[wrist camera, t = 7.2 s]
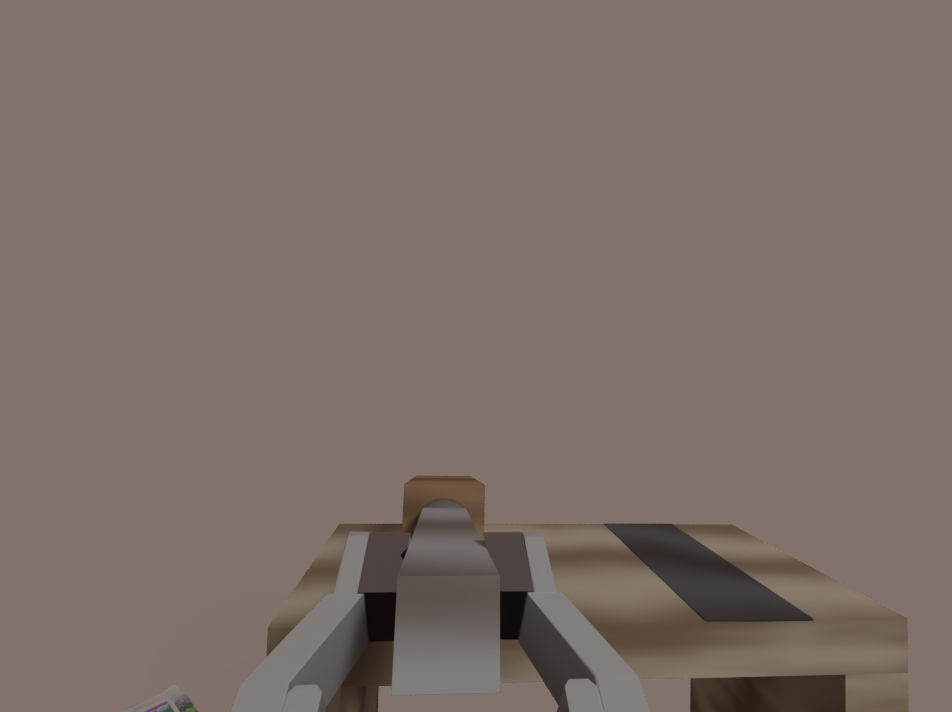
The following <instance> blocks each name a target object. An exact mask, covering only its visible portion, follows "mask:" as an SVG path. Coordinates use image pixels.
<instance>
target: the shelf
mask: <svg viewBox="0 0 952 712" xmlns="http://www.w3.org/2000/svg"><path fill="white" fill-rule="evenodd" d="M350 531H360V532H401V533H402V524H339V526H338V527H337V528H336V530H335V531H334V533H333V534H332V536H331V537H330V539H329V540H328V541H327V543H326V544H325V546H324V547H323V549H322V550H321V552H320V553H319V555H318V556H317V557H316V559H315V560H314V562H313V563H312V565H311V566H310V568H309V569H308V570H307V572H306V573H305V575H304V576H303V578H302V579H301V581H300V582H299V584H298V585H297V586H296V588H295V589H294V591H293V592H292V594H291V595H290V596H289V598H288V599H287V601H286V602H285V604H284V605H283V607H282V608H281V610H280V611H279V613H278V614H277V615H276V617H275V618H274V620H273V621H272V622H271V624H270V625H269V627H268V636H267V656H268V655H269V654H270V653H271V652H272V651H273V650H274V649H275V647H276V646H277V645H278V644H279V643H280V642H281V641H282V640H283V639H284V638H285V637H286V636H287V635H288V634H289V633H290V632H291V631H292V629H293V628H294V627H295V626H296V625H297V624H298V623H299V622H300V621H301V620H302V619H303V618H304V617H305V616H306V615H307V614H308V613H309V612H310V610H311V609H312V608H313V607H314V606H315V605H316V604H317V603H318V602H319V601H320V600H321V599H322V598H323V597H324V596H325V595H326V594H333V590H334V586H335V582H336V578H337V574H338V570H339V566H340V563H341V559H342V555H343V551H344V547H345V543H346V539H347V536H348V535H349V533H350ZM484 532H542V534H543V535H544V539H545V543H546V547H547V552H548V556H549V561H550V565H551V569H552V574H553V578H554V582H555V587H556V591H557V592H563V593H564V594H565V595H566V597H567V598H568V599H569V600H570V601H571V602H572V603H573V604H574V605H575V607H576V608H577V609H578V610H579V611H580V612H581V613H582V614H583V615H584V617H585V618H586V619H587V620H588V621H589V622H590V623H591V624H592V625H593V627H594V628H595V629H596V630H597V631H598V632H599V633H600V634H601V635H602V637H603V638H604V639H605V640H606V641H607V642H608V643H609V644H610V645H611V647H612V648H613V649H614V650H615V651H616V652H617V653H618V654H619V655H620V657H621V658H622V659H623V660H624V661H625V662H626V663H627V664H628V665H629V667H630V668H631V669H632V670H633V671H634V672H635V673H636V674H637V675H638V677H639V680H640V679H683V678H691V705H690V709H691V710H690V711H691V712H908V638H907V637H908V635H907V634H908V632H907V618H906V617H904V616H902V615H900V614H898V613H896V612H894V611H892V610H891V609H889V608H887V607H885V606H883V605H881V604H879V603H877V602H875V601H874V600H872V599H870V598H868V597H866V596H864V595H862V594H861V593H859V592H857V591H855V590H853V589H851V588H849V587H847V586H846V585H844V584H842V583H840V582H838V581H836V580H834V579H832V578H830V577H829V576H827V575H825V574H823V573H821V572H819V571H817V570H816V569H814V568H812V567H810V566H808V565H806V564H804V563H802V562H801V561H798V560H797V559H795V558H793V557H791V556H789V555H787V554H786V553H784V552H781V551H780V550H778V549H776V548H774V547H772V546H771V545H769V544H767V543H765V542H763V541H761V540H759V539H757V538H756V537H754V536H752V535H750V534H748V533H746V532H744V531H742V530H740V529H739V528H737V527H735V526H733V525H673V524H594V525H593V524H484ZM518 641H519V640H500V683H518V682H544V681H543V680H542V678H541V677H540V675H539V674H538V672H537V670H536V669H535V667H534V666H533V664H532V663H531V661H530V659H529V658H528V656H527V655H526V653H525V651H524V650H523V648H522V647H521V645H520V644H519V642H518ZM393 654H394V641H382V642H368V646H367V647H366V649H365V650H364V652H363V653H362V655H361V656H360V658H359V659H358V661H357V662H356V664H355V665H354V667H353V668H352V670H351V671H350V673H349V674H348V676H347V677H346V679H345V680H344V681H343V683H342V684H341V686H340V687H339V689H338V690H337V692H336V693H335V695H334V696H333V698H332V699H331V701H330V702H329V704H328V705H327V707H326V708H325V709H326V712H378V687H379V686H392V673H393Z"/></svg>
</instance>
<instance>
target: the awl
mask: <svg viewBox="0 0 952 712" xmlns="http://www.w3.org/2000/svg"><path fill="white" fill-rule="evenodd" d="M484 495H485V485H484V484H482V483H481V482H479V481H477V480H476V479H474V478H472V477H470V476H416V477H414V478H413V479H411V480H410V481H408V482H407V483H405V484H404V503H403V523H402V533H411V542H410V545H409V547H408V549H407V552H406V555H405V557H404V560H403V563H402V565H401V568H400V571H399V573H398V576H397V595H396V615H395V634H394V654H393V673H392V693H391V694H392V696H396V695H437V694H473V693H474V694H475V693H500V575H499V573H498V571H497V569H496V567H495V565H494V563H493V561H492V559H491V557H490V555H489V553H488V551H487V549H486V547H485V545H484V543H483V541H482V538H483V533H484V499H485V497H484Z"/></svg>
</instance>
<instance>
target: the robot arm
mask: <svg viewBox="0 0 952 712" xmlns="http://www.w3.org/2000/svg"><path fill="white" fill-rule="evenodd" d="M482 541H483V543H484V545H485V547H486V549H487V551H488V553H489V555H490V557H491V559H492V561H493V563H494V565H495V567H496V569H497V571H498V573H499V575H500V640H519V641H518V642H519V644H520V645H521V647H522V648H523V650H524V651H525V653H526V655H527V656H528V658H529V659H530V661H531V663H532V664H533V666H534V667H535V669H536V670H537V672H538V674H539V675H540V677H541V678H542V680H543V681H544V683H545V685H546V686H547V688H548V689H549V691H550V692H551V694H552V696H553V697H554V699H555V700H556V702H557V703H558V705H559V707H558V711H557V712H650V710H649V707H648V704H647V701H646V698H645V695H644V692H643V689H642V686H641V683H640V680H639V677H638V675H637V674H636V673H635V672H634V671H633V670H632V669H631V668H630V667H629V665H628V664H627V663H626V662H625V661H624V660H623V659H622V658H621V657H620V655H619V654H618V653H617V652H616V651H615V650H614V649H613V648H612V647H611V645H610V644H609V643H608V642H607V641H606V640H605V639H604V638H603V637H602V635H601V634H600V633H599V632H598V631H597V630H596V629H595V628H594V627H593V625H592V624H591V623H590V622H589V621H588V620H587V619H586V618H585V617H584V615H583V614H582V613H581V612H580V611H579V610H578V609H577V608H576V607H575V605H574V604H573V603H572V602H571V601H570V600H569V599H568V598H567V597H566V595H565V594H564V593H563V592H557V591H556V587H555V582H554V578H553V574H552V569H551V565H550V561H549V556H548V552H547V547H546V543H545V539H544V535H543V534H542V532H484V533H483V538H482ZM410 542H411V533H401V532H360V531H350V533H349V535H348V536H347V539H346V543H345V547H344V551H343V555H342V559H341V563H340V566H339V570H338V574H337V578H336V582H335V586H334V590H333V594H326V595H325V596H324V597H323V598H322V599H321V600H320V601H319V602H318V603H317V604H316V605H315V606H314V607H313V608H312V609H311V610H310V612H309V613H308V614H307V615H306V616H305V617H304V618H303V619H302V620H301V621H300V622H299V623H298V624H297V625H296V626H295V627H294V628H293V629H292V631H291V632H290V633H289V634H288V635H287V636H286V637H285V638H284V639H283V640H282V641H281V642H280V643H279V644H278V645H277V646H276V647H275V649H274V650H273V651H272V652H271V653H270V654H269V655H268V656H267V657H266V658H265V659H264V660H263V661H262V662H261V663H260V664H259V666H257V668H256V669H255V670H254V671H253V672H252V673H251V674H250V675H249V676H248V677H247V678H246V679H245V680H244V681H243V682H242V683H241V685H240V688H239V690H238V693H237V696H236V698H235V701H234V703H233V706H232V709H231V711H230V712H326V709H325V708H326V707H327V705H328V704H329V702H330V701H331V699H332V698H333V696H334V695H335V693H336V692H337V690H338V689H339V687H340V686H341V684H342V683H343V681H344V680H345V679H346V677H347V676H348V674H349V673H350V671H351V670H352V668H353V667H354V665H355V664H356V662H357V661H358V659H359V658H360V656H361V655H362V653H363V652H364V650H365V649H366V647H367V646H368V642H382V641H394V634H395V615H396V595H397V576H398V573H399V571H400V568H401V565H402V563H403V560H404V557H405V555H406V552H407V549H408V547H409V545H410Z"/></svg>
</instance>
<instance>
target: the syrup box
mask: <svg viewBox="0 0 952 712" xmlns="http://www.w3.org/2000/svg"><path fill="white" fill-rule="evenodd" d="M121 712H198V711H197V710H196V708H195V707H194V705H193V704H192V702H191V701H190V699H189V698H188V697H187V696H186V694H185V693H184V692H183V691H182V690H181V689H180V688H178V686H177V684H175V685H173V686H172V687H170V688H168V689H166V691H164V692H162V693H160V694H158V695H156V696H154V697H151V698H149V699H147V700H145V701H142V702H140V703H138V704H136V705H134V706H132V707H130V708H127V709H126V710H123V711H121Z"/></svg>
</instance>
